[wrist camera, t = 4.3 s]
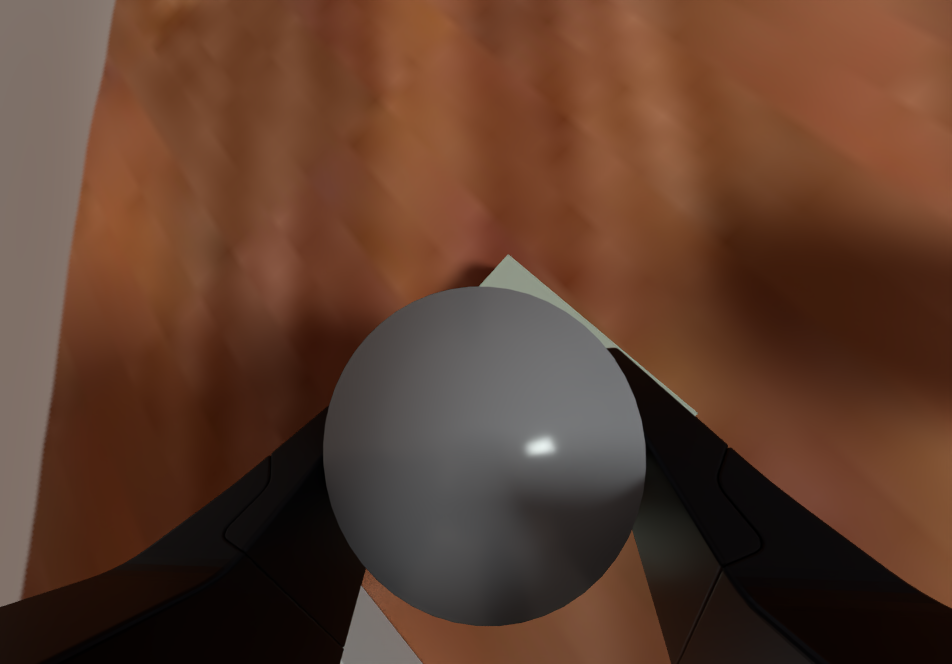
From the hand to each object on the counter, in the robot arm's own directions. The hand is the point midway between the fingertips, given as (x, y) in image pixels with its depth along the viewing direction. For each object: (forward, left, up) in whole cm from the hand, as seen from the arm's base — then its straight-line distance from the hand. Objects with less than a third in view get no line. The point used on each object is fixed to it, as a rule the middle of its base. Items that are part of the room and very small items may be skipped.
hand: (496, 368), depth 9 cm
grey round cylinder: (-1, +1, -7) cm, 7 cm away
